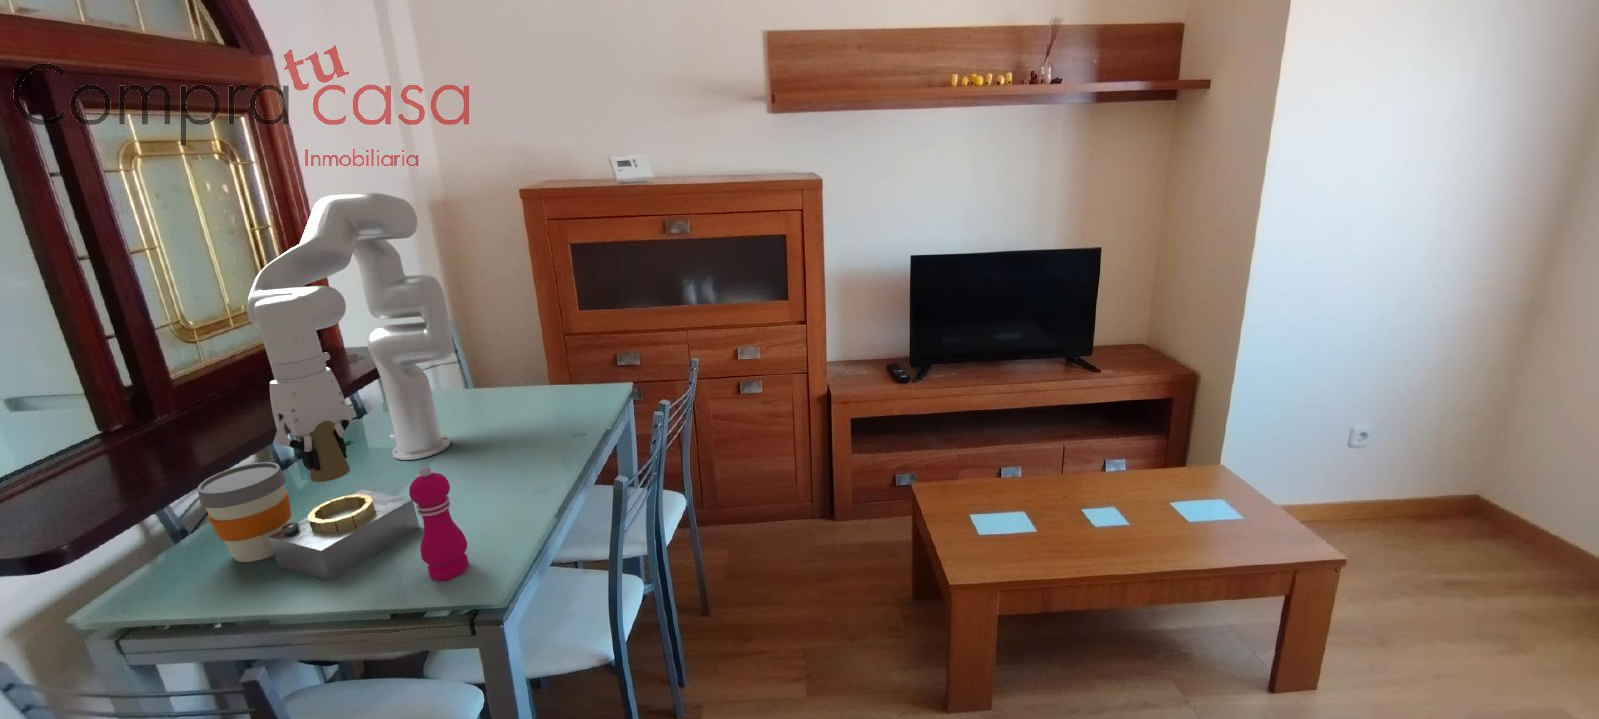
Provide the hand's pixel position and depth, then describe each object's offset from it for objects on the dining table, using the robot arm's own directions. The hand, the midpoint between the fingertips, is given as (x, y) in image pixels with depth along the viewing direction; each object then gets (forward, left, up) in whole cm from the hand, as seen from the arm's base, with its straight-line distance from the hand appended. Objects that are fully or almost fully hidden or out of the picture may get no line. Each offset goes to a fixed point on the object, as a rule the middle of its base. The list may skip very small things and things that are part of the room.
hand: (327, 462), depth 125 cm
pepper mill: (+25, 0, -18) cm, 31 cm away
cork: (0, 0, -2) cm, 3 cm away
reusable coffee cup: (-16, -6, -18) cm, 24 cm away
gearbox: (0, 0, -17) cm, 17 cm away
